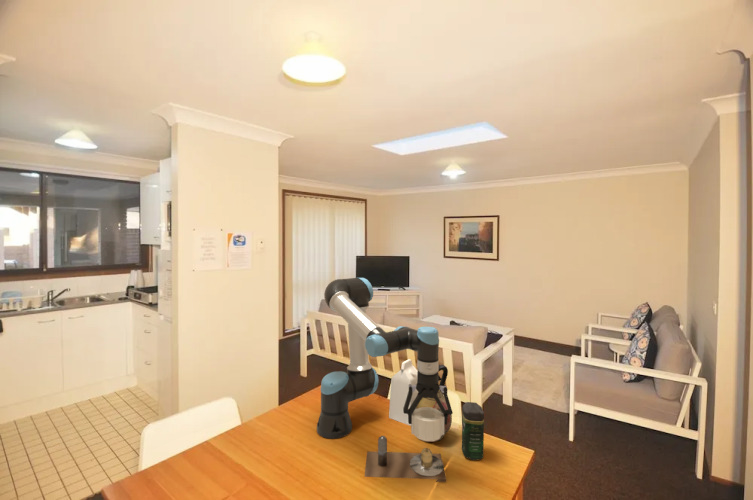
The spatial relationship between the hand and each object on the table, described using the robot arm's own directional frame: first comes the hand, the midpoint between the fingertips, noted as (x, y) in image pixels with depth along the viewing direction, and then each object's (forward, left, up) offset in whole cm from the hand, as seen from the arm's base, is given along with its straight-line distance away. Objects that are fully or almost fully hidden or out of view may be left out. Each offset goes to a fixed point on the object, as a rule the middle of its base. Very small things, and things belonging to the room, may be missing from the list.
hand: (427, 432), depth 123 cm
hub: (0, 0, -13) cm, 13 cm away
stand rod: (-14, -7, -13) cm, 21 cm away
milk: (-22, +29, -13) cm, 39 cm away
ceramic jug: (-5, +21, -13) cm, 26 cm away
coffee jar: (+12, +17, -13) cm, 25 cm away
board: (-7, -4, -13) cm, 15 cm away
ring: (0, 0, 0) cm, 0 cm away
